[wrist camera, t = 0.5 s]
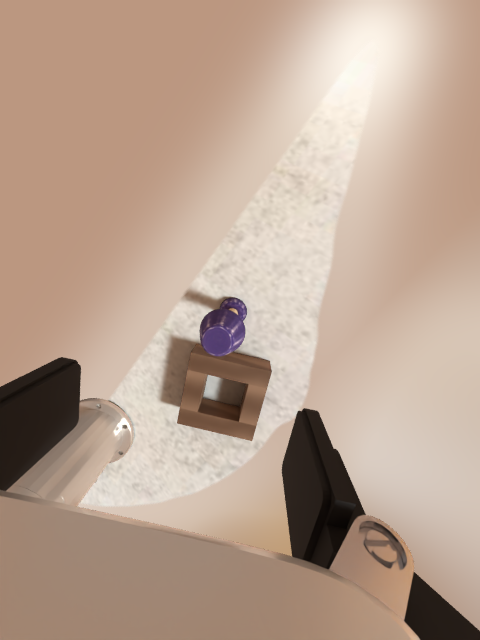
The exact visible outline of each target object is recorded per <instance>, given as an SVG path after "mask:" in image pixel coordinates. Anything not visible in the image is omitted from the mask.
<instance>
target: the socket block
mask: <svg viewBox="0 0 480 640" xmlns="http://www.w3.org/2000/svg"><path fill="white" fill-rule="evenodd" d="M271 372H272V371H271V365H270V361H268V360H264V359H259V358H255V357H251V356H247V355H242V354H238V353H234V352H231V353H229V354H227V355H224V356H213V355H210V354H208V353H207V352H206V351H205V350H204V349H203V347H202V345H200V344H196V346H195V347H194V349H193V350H192V352H191V354H190V359H189V364H188V369H187V375H186V380H185V385H184V390H183V395H182V400H181V405H180V410H179V416H178V421H177V423H178V424H182V425H186V426H191V427H195V428H199V429H203V430H208V431H212V432H216V433H220V434H225V435H229V436H233V437H237V438H242V439H246V440H250V441H252V439H253V436H254V432H255V429H256V425H257V422H258V418H259V415H260V411H261V408H262V404H263V401H264V397H265V393H266V390H267V386H268V383H269V379H270V376H271ZM208 375H212V376H216V377H220V378H225V379H229V380H233V381H237V382H241V383H246V386H245V390H244V394H243V398H242V402H241V405H240V407H238V406H234V405H230V404H226V403H221V402H217V401H213V400H209V399H204V398H203V394H204V390H205V385H206V381H207V376H208Z"/></svg>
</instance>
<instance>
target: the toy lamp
mask: <svg viewBox="0 0 480 640" xmlns="http://www.w3.org/2000/svg"><path fill="white" fill-rule="evenodd" d="M246 315H247V308H246V306H245V304H244V303H243V302H242V301H241V300H240V299H237V298H228V299H226V300H225V301H223V302H222V304H221V306H220V309H217V310H214V311H211V312H209V313H208V314H207V315H206V316H205V317H204V319H203V320H202V322H201V325H200V340H201V345H202V347H203V349H204V350H205V351H206V352H207V353H208V354H210V355H213V356H224V355H227V354H229V353H231V352H233V351H235V350H236V349H237V348H238V347H239V346H240V345H241V344H242V342H243V340H244V337H245V326H244V323H243V320H244V319H245V317H246Z"/></svg>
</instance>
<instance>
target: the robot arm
mask: <svg viewBox="0 0 480 640" xmlns="http://www.w3.org/2000/svg"><path fill="white" fill-rule="evenodd" d="M80 375H81V367H80V365H79V364H78V362H77V361H76V360H73V359H68V358H63V357H61V358H58V359H56V360H54V361H52V362H50V363H48V364H46V365H44V366H42V367H40V368H38V369H36V370H34V371H32V372H30V373H28V374H26V375H24V376H22V377H19V378H18V379H15V380H13V381H11V382H9V383H7V384H5V385H3V386H1V387H0V640H480V631H479V630H478V629H477V628H476V627H474V626H473V625H472V624H471V623H470V622H469V621H468V620H467V619H466V618H464V617H463V616H462V615H461V614H460V613H459V612H458V611H457V610H456V609H455V608H453V607H452V606H451V605H450V604H449V603H448V602H447V601H445V600H444V599H443V598H442V597H441V596H440V595H439V594H438V593H437V592H436V591H434V590H433V589H432V588H431V587H430V586H429V585H428V584H427V583H426V582H425V581H423V580H422V579H421V578H420V577H419V576H418V575H417V574H416V573H415V572H414V561H413V558H412V555H411V552H410V550H409V549H408V547H407V545H406V543H405V542H404V541H403V539H402V538H401V537H400V536H399V535H398V533H397V532H395V531H394V530H393V529H392V528H391V527H390V526H389V525H387V524H386V523H384V522H383V521H381V520H380V519H377V518H375V517H373V516H368V515H366V514H365V512H364V510H363V508H362V505H361V503H360V501H359V498H358V496H357V494H356V491H355V489H354V486H353V484H352V482H351V480H350V477H349V475H348V473H347V470H346V468H345V466H344V464H343V461H342V459H341V456H340V454H339V452H338V451H337V450H336V449H333V446H332V444H331V441H330V439H329V436H328V434H327V432H326V429H325V427H324V424H323V422H322V419H321V417H320V415H319V412H318V411H315V410H310V409H305V408H304V409H303V410H302V411H298V413H297V416H296V419H295V423H294V426H293V429H292V433H291V437H290V440H289V443H288V447H287V450H286V454H285V457H284V461H283V465H282V476H283V484H284V492H285V501H286V508H287V517H288V525H289V533H290V542H291V549H292V557H291V556H288V555H285V554H281V553H277V552H273V551H269V550H265V549H261V548H257V547H253V546H249V545H244V544H241V543H237V542H233V541H229V540H224V539H220V538H215V537H211V536H207V535H202V534H198V533H193V532H189V531H184V530H180V529H176V528H171V527H167V526H163V525H158V524H154V523H149V522H145V521H140V520H136V519H131V518H127V517H122V516H118V515H113V514H109V513H104V512H99V511H95V510H90V509H86V508H81V507H77V506H78V504H79V503H80V502H81V500H82V499H83V498H84V496H85V495H86V493H87V492H88V491H89V489H90V488H91V486H92V485H93V484H94V483H95V482H96V481H97V478H98V477H99V475H100V474H101V473H102V471H103V470H104V469H105V467H106V466H107V464H108V463H111V462H115V461H117V460H119V459H120V458H122V457H123V456H124V455H125V454H126V453H127V452H128V450H129V449H130V447H131V445H132V443H133V438H134V430H133V426H132V423H131V421H130V419H129V417H128V416H127V415H126V413H125V412H124V411H123V410H122V409H121V408H119V407H118V406H116V405H115V404H113V403H111V402H109V401H106V400H103V399H97V398H90V399H84V400H81V401H80Z"/></svg>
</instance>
